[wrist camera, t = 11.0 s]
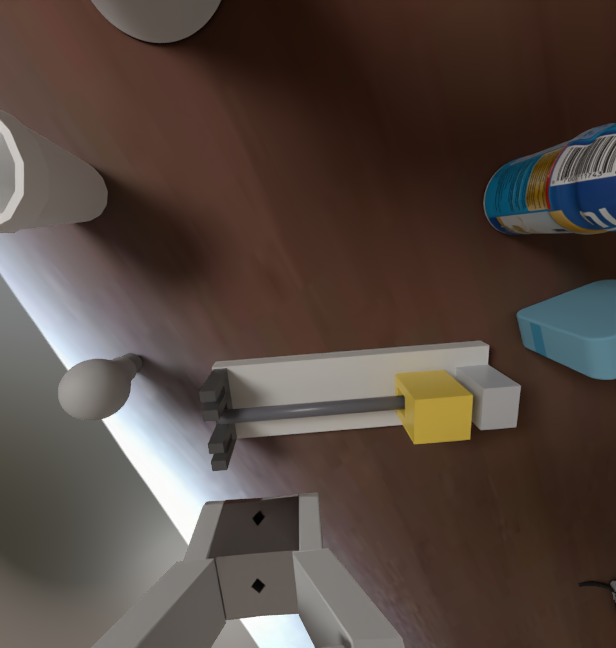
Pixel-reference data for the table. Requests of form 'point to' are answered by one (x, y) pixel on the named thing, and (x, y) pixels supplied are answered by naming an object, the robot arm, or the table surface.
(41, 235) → the table surface
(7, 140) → the foam cup
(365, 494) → the table surface
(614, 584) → the bike brake
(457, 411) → the sleeve
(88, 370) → the lightbulb
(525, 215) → the beverage bottle
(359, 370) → the board
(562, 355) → the data package
